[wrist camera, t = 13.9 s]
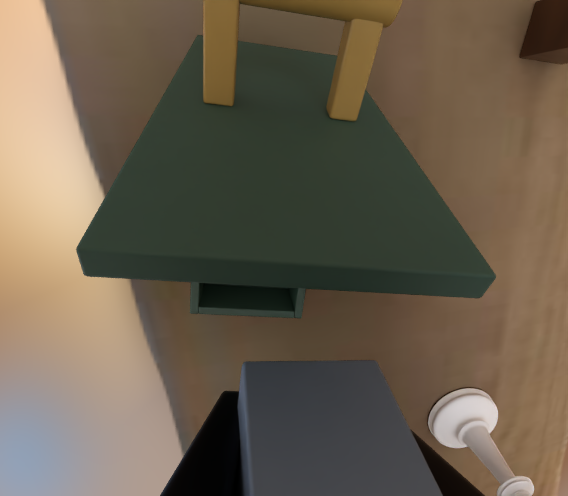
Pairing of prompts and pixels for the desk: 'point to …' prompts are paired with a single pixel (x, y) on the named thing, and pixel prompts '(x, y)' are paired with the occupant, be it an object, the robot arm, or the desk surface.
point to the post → (548, 33)
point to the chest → (246, 300)
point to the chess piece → (475, 435)
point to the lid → (280, 174)
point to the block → (325, 433)
